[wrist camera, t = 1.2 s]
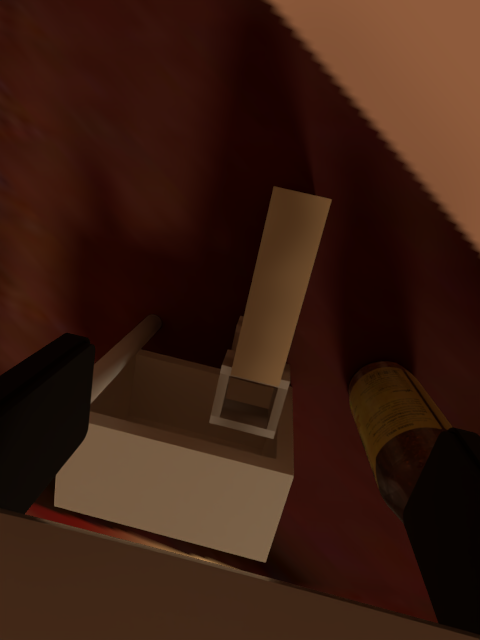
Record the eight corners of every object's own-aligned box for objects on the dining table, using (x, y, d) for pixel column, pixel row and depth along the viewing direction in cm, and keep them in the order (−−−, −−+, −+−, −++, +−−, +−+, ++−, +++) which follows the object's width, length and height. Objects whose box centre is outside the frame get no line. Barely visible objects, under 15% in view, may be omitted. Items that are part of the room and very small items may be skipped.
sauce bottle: (334, 402, 36) (384, 628, 18) (366, 346, 34) (461, 536, 15) (397, 428, 36) (514, 681, 18) (433, 374, 34) (609, 598, 16)
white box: (302, 350, 35) (311, 448, 22) (271, 454, 39) (263, 589, 26) (133, 309, 36) (43, 380, 22) (120, 415, 40) (37, 528, 26)
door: (324, 197, 31) (345, 202, 19) (277, 366, 36) (272, 448, 25) (270, 185, 31) (260, 183, 20) (231, 355, 36) (206, 431, 25)
